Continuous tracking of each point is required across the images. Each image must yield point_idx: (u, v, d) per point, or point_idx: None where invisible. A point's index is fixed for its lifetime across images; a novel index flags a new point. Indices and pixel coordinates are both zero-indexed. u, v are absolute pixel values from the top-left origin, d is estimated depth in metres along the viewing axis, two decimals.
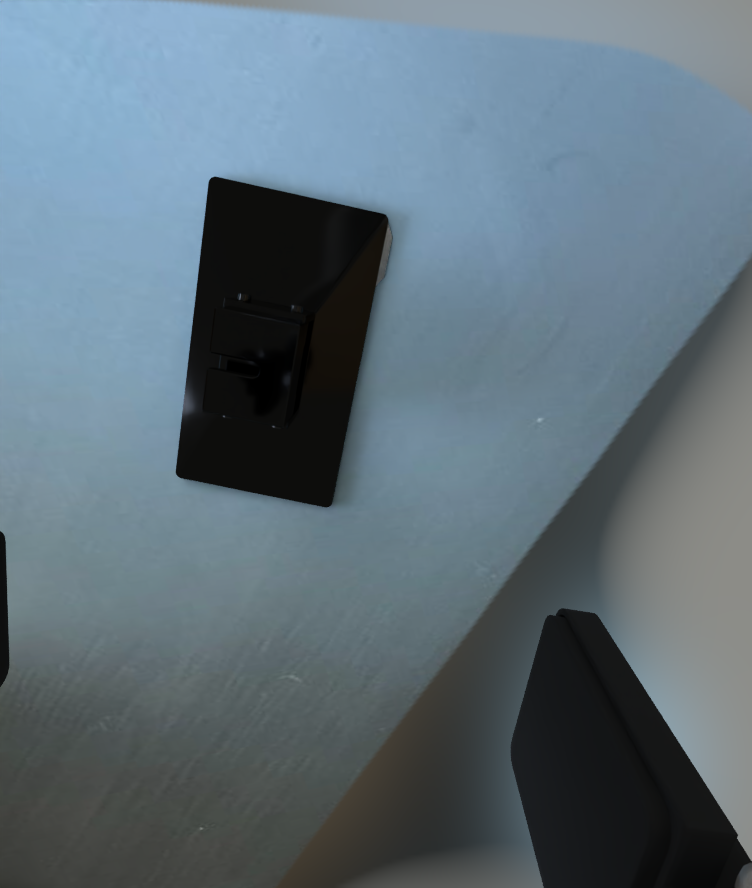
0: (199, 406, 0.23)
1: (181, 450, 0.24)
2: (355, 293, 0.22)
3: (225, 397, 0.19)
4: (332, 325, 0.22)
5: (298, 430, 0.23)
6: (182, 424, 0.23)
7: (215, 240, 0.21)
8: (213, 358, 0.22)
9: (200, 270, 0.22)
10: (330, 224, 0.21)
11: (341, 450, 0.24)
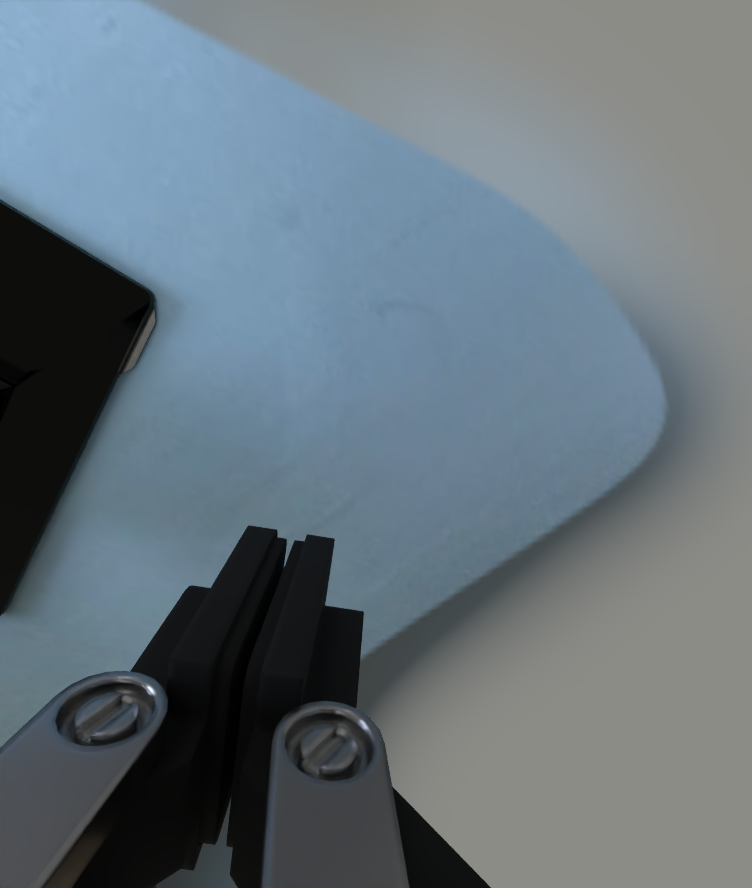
0: None
1: None
2: (82, 376, 0.16)
3: None
4: (39, 407, 0.16)
5: None
6: None
7: None
8: None
9: None
10: (68, 278, 0.15)
11: (26, 558, 0.18)
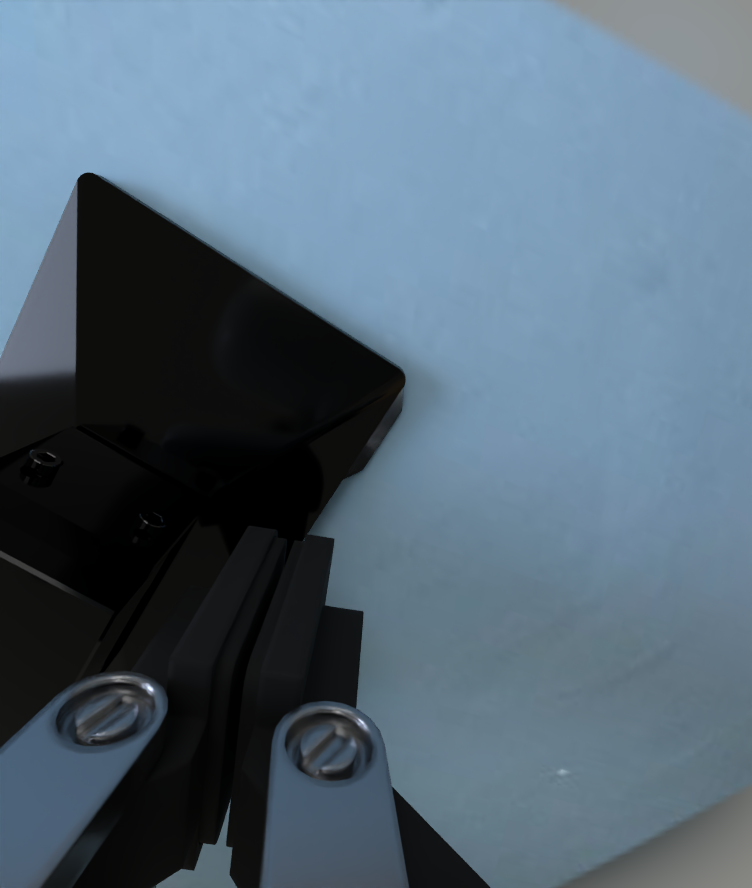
0: None
1: None
2: (298, 486, 0.11)
3: None
4: (235, 527, 0.11)
5: None
6: None
7: (57, 295, 0.10)
8: None
9: (13, 336, 0.11)
10: (293, 352, 0.10)
11: None
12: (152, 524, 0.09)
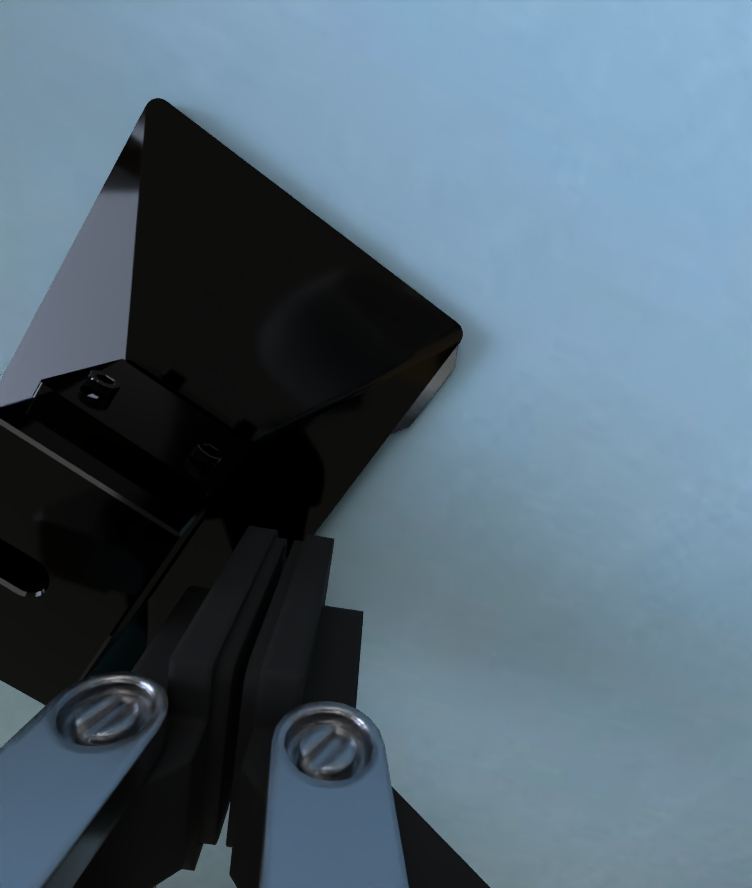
0: None
1: None
2: (345, 438, 0.11)
3: None
4: (278, 476, 0.11)
5: (141, 620, 0.12)
6: None
7: (115, 223, 0.10)
8: None
9: (65, 264, 0.10)
10: (352, 298, 0.10)
11: None
12: (210, 455, 0.09)
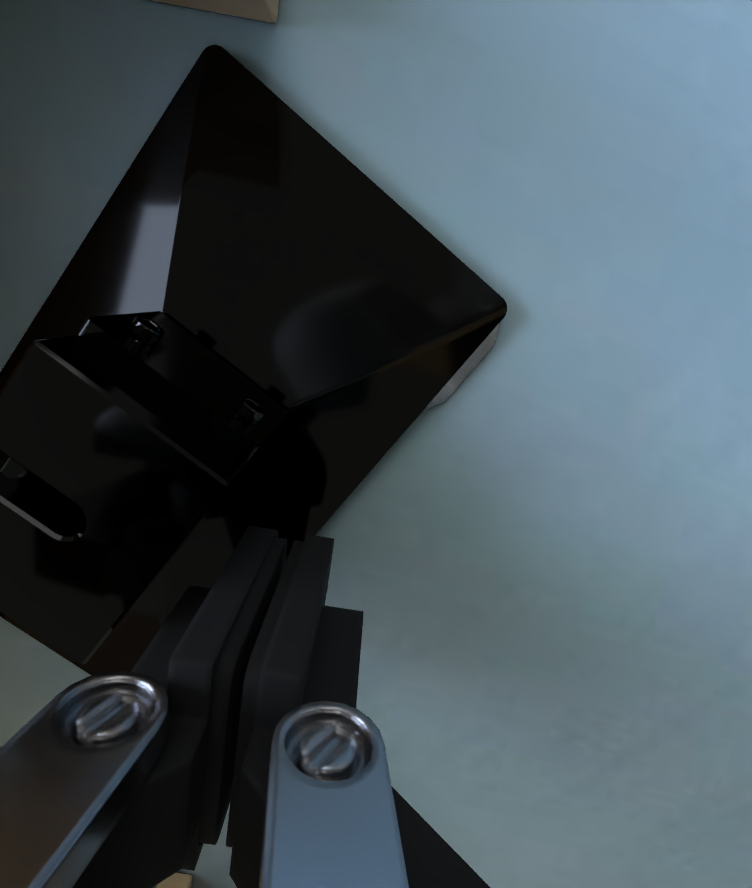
0: None
1: None
2: (380, 408, 0.11)
3: None
4: (309, 443, 0.11)
5: (156, 585, 0.12)
6: None
7: (161, 171, 0.10)
8: None
9: (105, 211, 0.10)
10: (398, 265, 0.10)
11: None
12: (254, 409, 0.08)
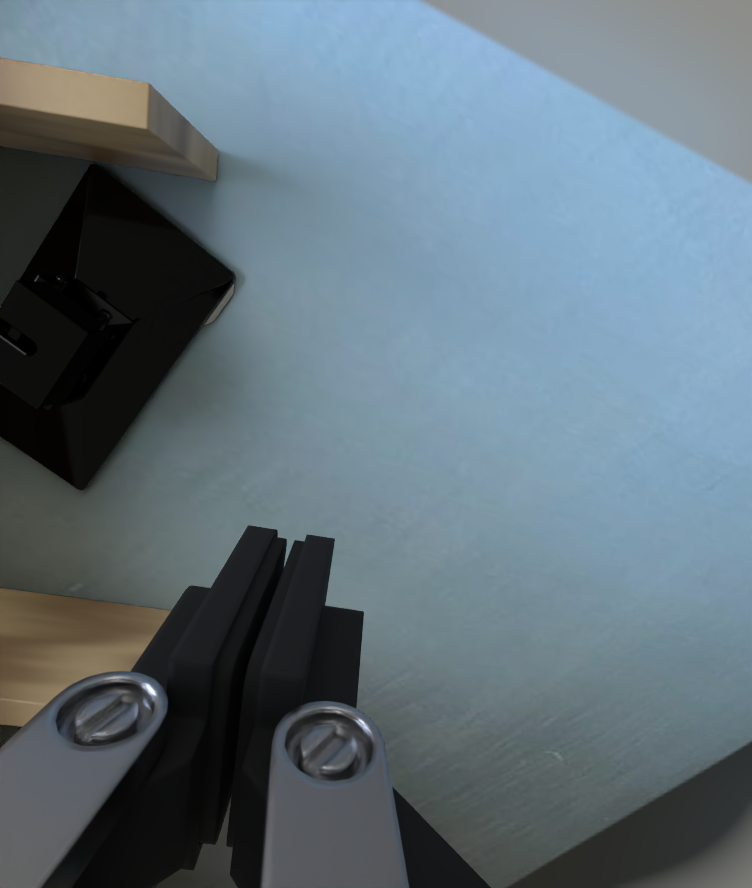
0: None
1: None
2: (179, 323, 0.23)
3: None
4: (146, 339, 0.23)
5: (77, 412, 0.24)
6: None
7: (73, 216, 0.22)
8: None
9: (49, 234, 0.23)
10: (181, 256, 0.23)
11: (113, 447, 0.25)
12: (106, 312, 0.21)
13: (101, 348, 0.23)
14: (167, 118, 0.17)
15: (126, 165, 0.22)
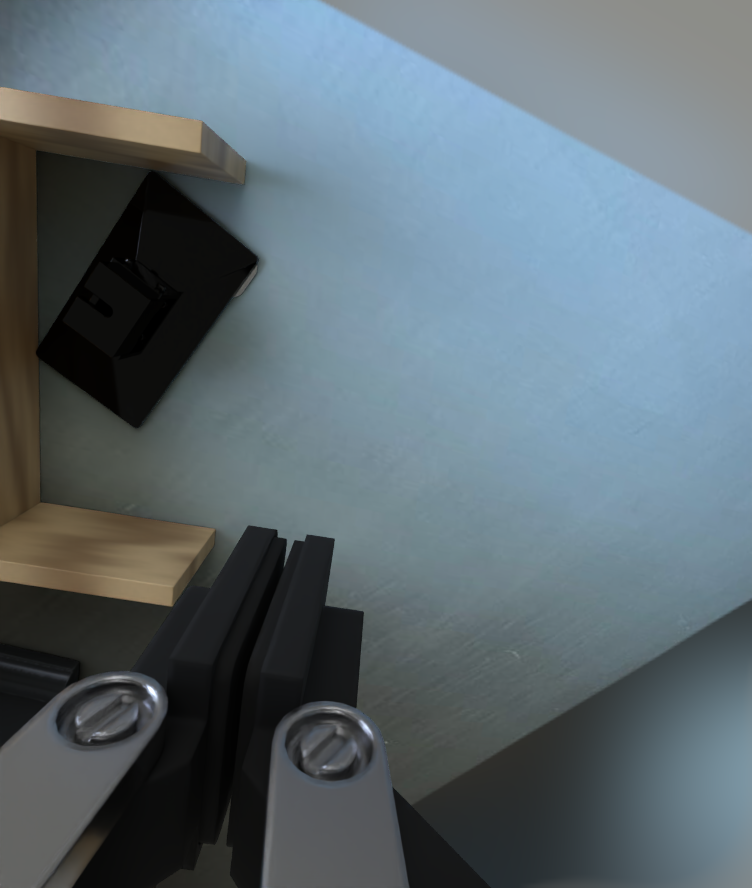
0: None
1: (47, 338, 0.31)
2: (215, 295, 0.30)
3: (81, 319, 0.27)
4: (189, 308, 0.30)
5: (135, 365, 0.31)
6: (56, 321, 0.31)
7: (135, 212, 0.29)
8: None
9: (116, 225, 0.29)
10: (217, 243, 0.29)
11: (161, 393, 0.32)
12: (162, 286, 0.27)
13: (155, 314, 0.30)
14: (212, 143, 0.23)
15: (176, 172, 0.28)
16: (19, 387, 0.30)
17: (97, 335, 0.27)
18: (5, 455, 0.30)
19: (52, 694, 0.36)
